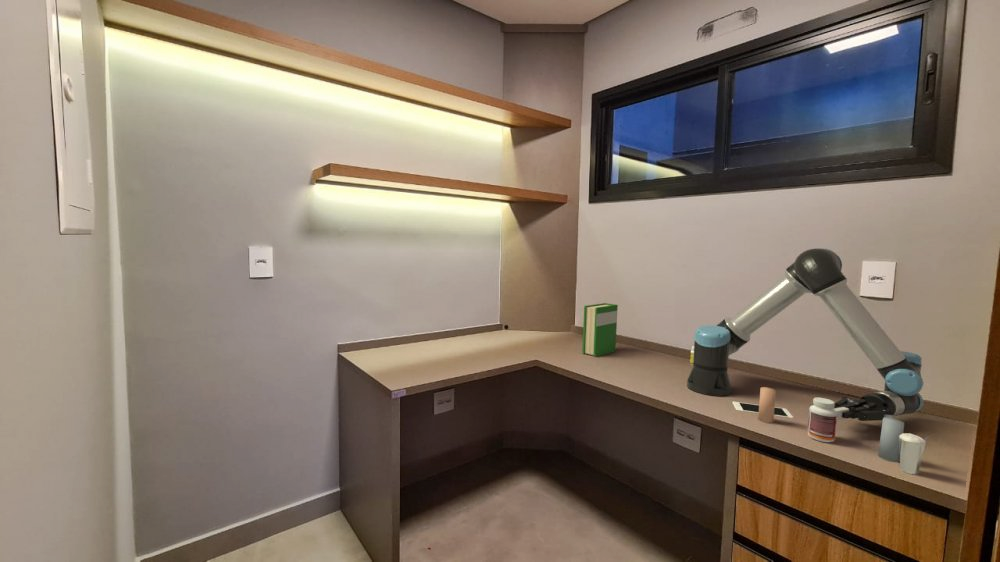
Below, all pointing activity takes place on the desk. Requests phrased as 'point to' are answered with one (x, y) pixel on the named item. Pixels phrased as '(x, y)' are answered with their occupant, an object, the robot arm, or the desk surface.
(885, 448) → the slate post
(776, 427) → the desk surface
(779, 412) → the cell phone
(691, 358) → the supplement bottle
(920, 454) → the milkshake
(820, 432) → the pill bottle
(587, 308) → the hardback book
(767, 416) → the terracotta post
